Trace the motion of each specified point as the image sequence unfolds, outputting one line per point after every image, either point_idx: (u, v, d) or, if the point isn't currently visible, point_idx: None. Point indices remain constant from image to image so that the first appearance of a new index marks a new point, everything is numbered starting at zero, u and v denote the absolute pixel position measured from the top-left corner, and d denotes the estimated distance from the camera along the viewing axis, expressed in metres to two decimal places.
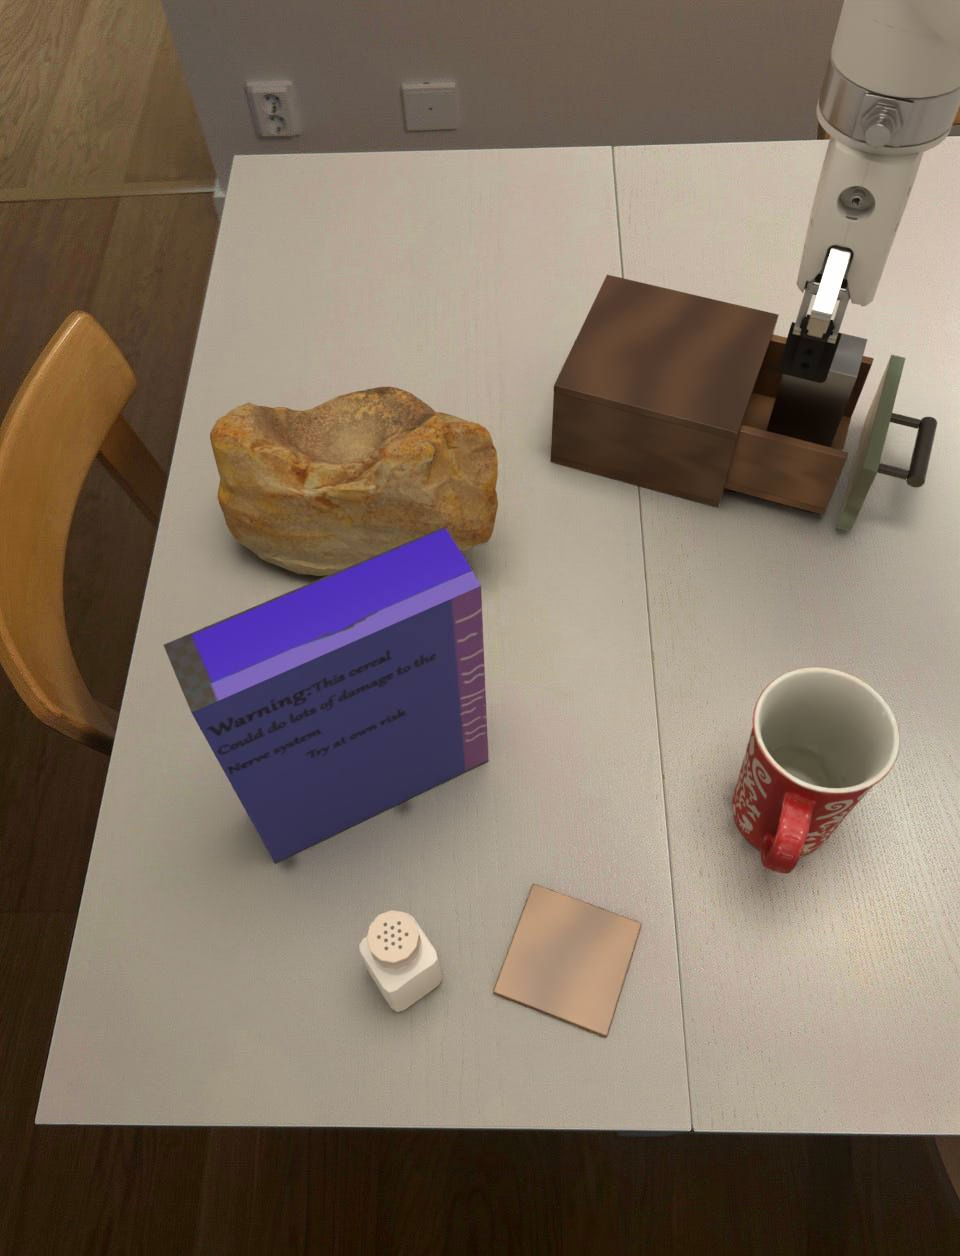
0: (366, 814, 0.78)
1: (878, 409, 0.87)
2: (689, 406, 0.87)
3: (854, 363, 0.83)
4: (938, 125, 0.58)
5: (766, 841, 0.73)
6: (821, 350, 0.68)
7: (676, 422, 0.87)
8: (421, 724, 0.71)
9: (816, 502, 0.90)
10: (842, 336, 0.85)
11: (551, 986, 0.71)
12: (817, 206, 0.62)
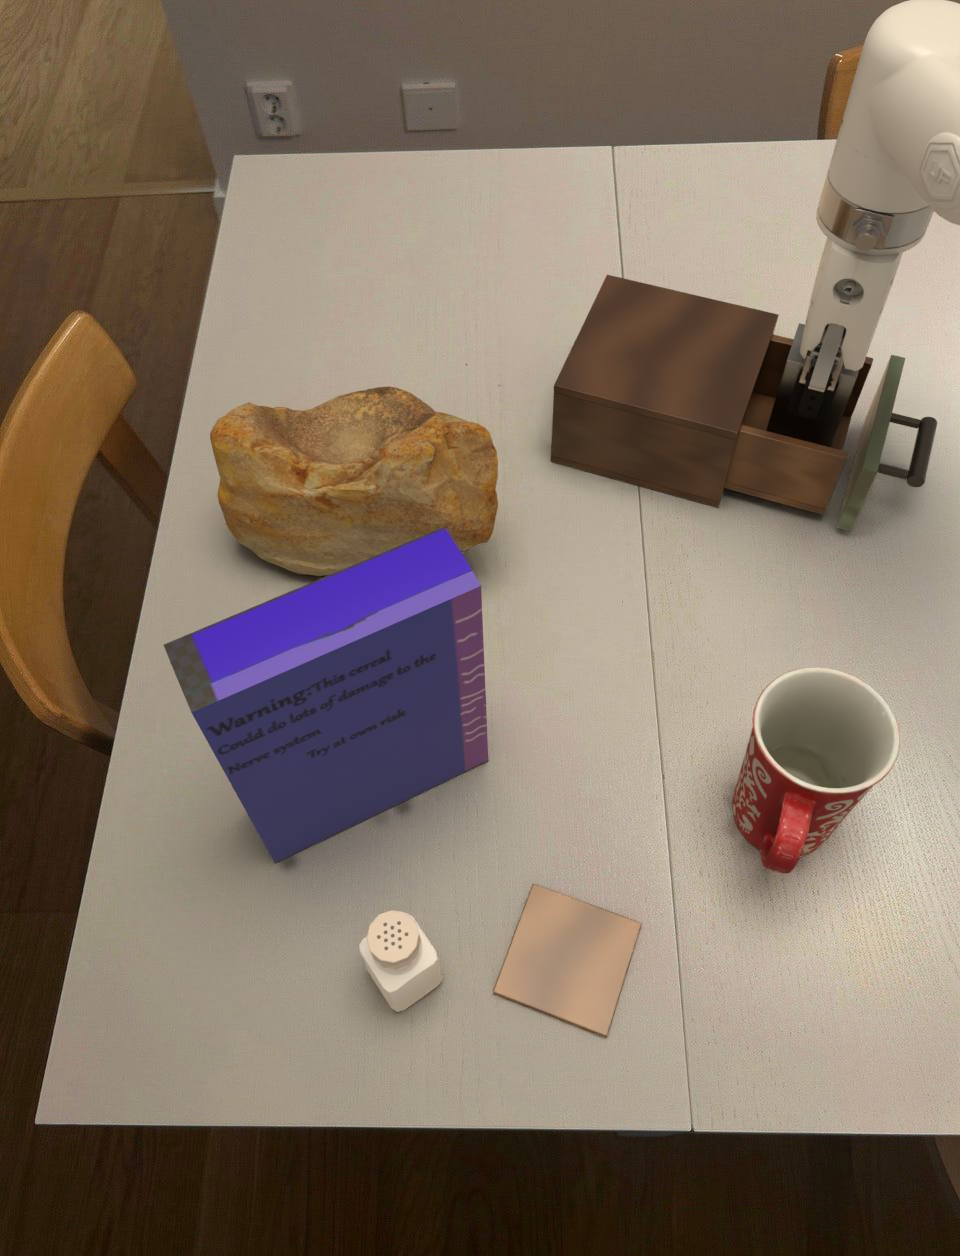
0: (366, 814, 0.78)
1: (878, 409, 0.87)
2: (689, 406, 0.87)
3: None
4: (914, 232, 0.71)
5: (766, 841, 0.73)
6: (822, 396, 0.84)
7: (676, 422, 0.87)
8: (421, 724, 0.71)
9: (816, 502, 0.90)
10: None
11: (551, 986, 0.71)
12: (816, 292, 0.75)
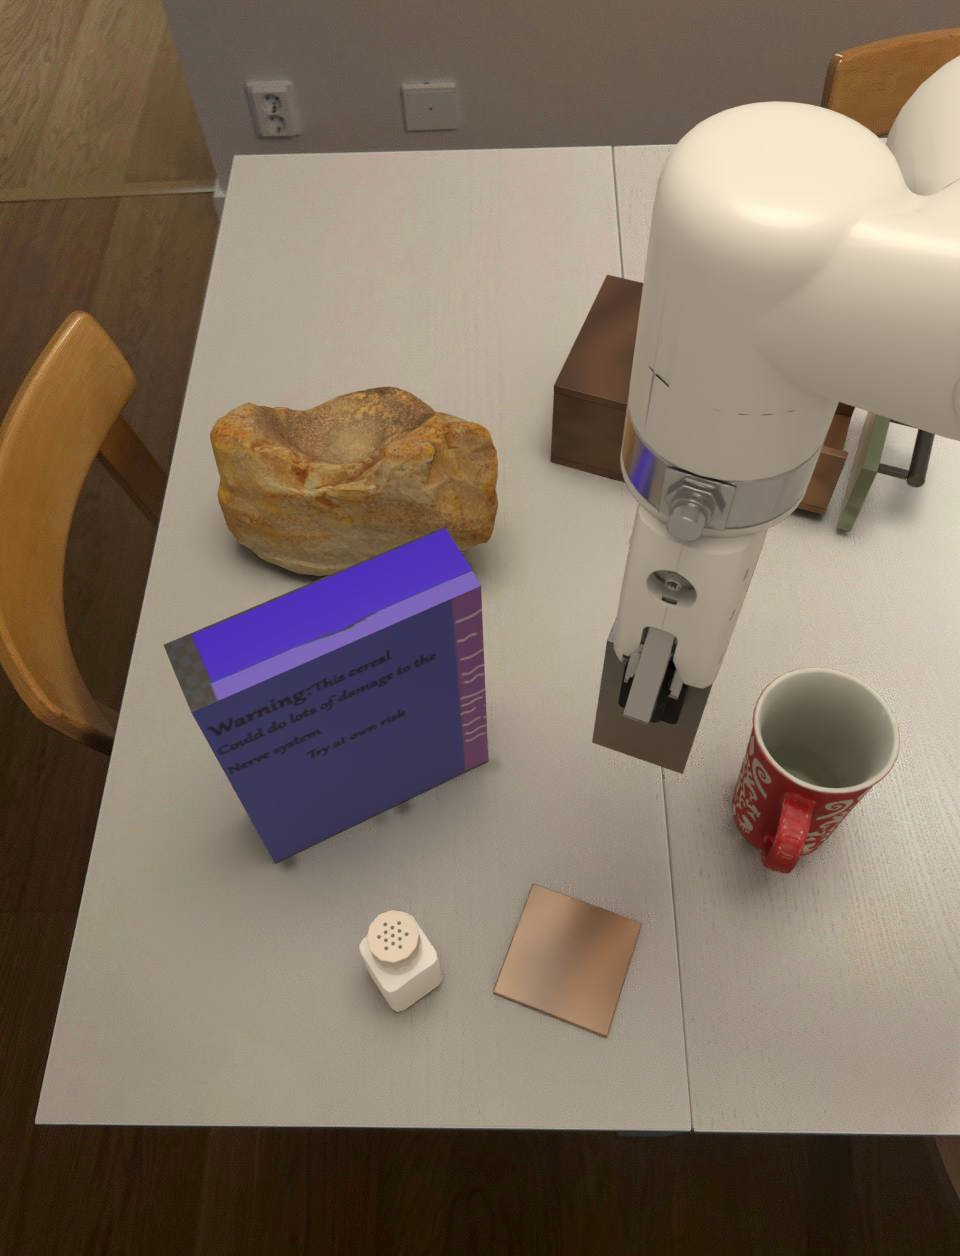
0: (366, 814, 0.78)
1: None
2: None
3: None
4: (779, 503, 0.40)
5: (766, 841, 0.73)
6: None
7: None
8: (421, 724, 0.71)
9: (816, 502, 0.90)
10: None
11: (551, 986, 0.71)
12: (624, 578, 0.44)
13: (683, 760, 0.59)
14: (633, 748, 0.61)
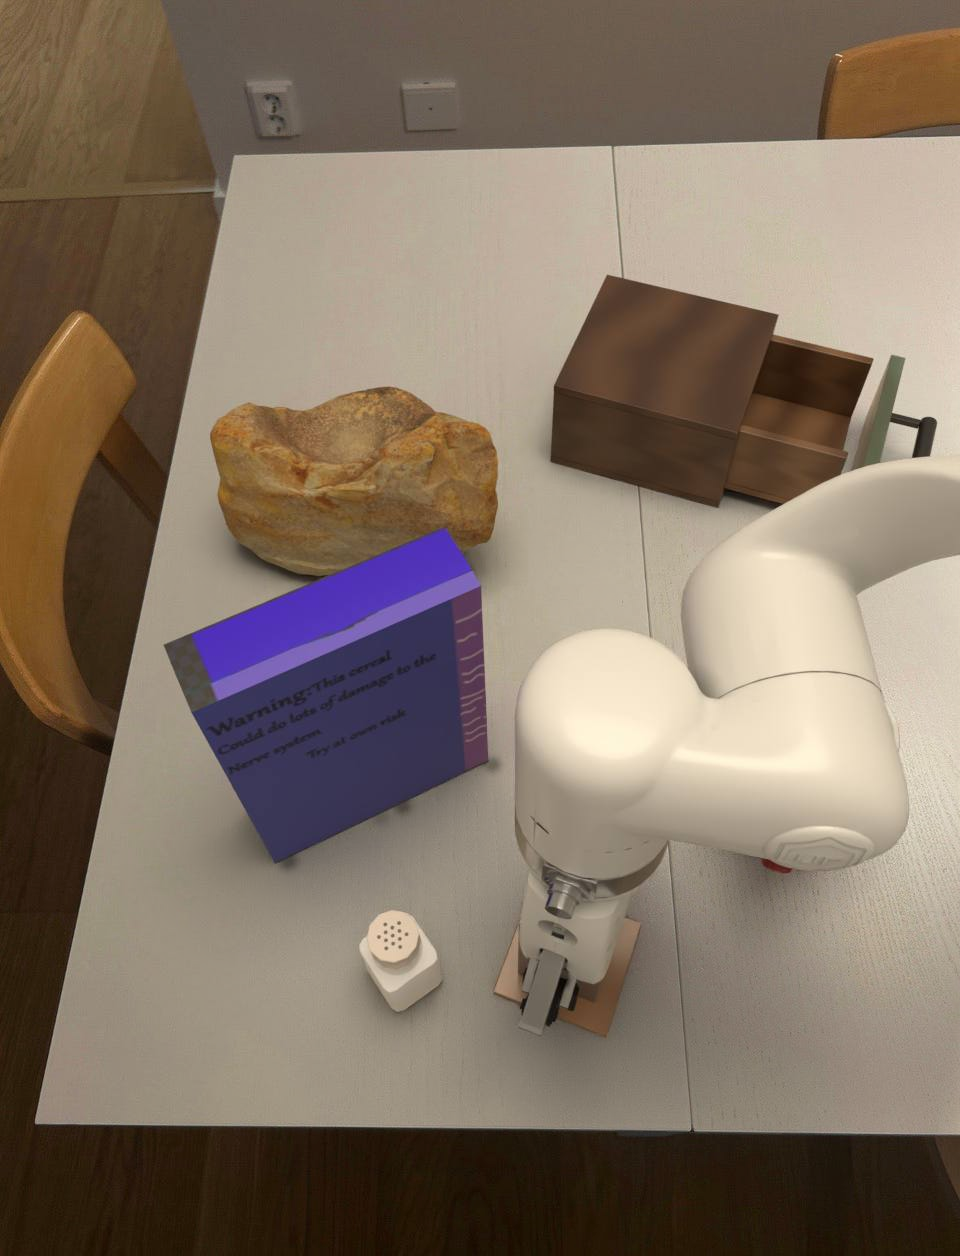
0: (366, 814, 0.78)
1: (878, 409, 0.87)
2: (689, 406, 0.87)
3: None
4: (637, 880, 0.49)
5: None
6: (557, 1005, 0.60)
7: (676, 422, 0.87)
8: (421, 724, 0.71)
9: None
10: None
11: None
12: (521, 914, 0.54)
13: (593, 995, 0.69)
14: None
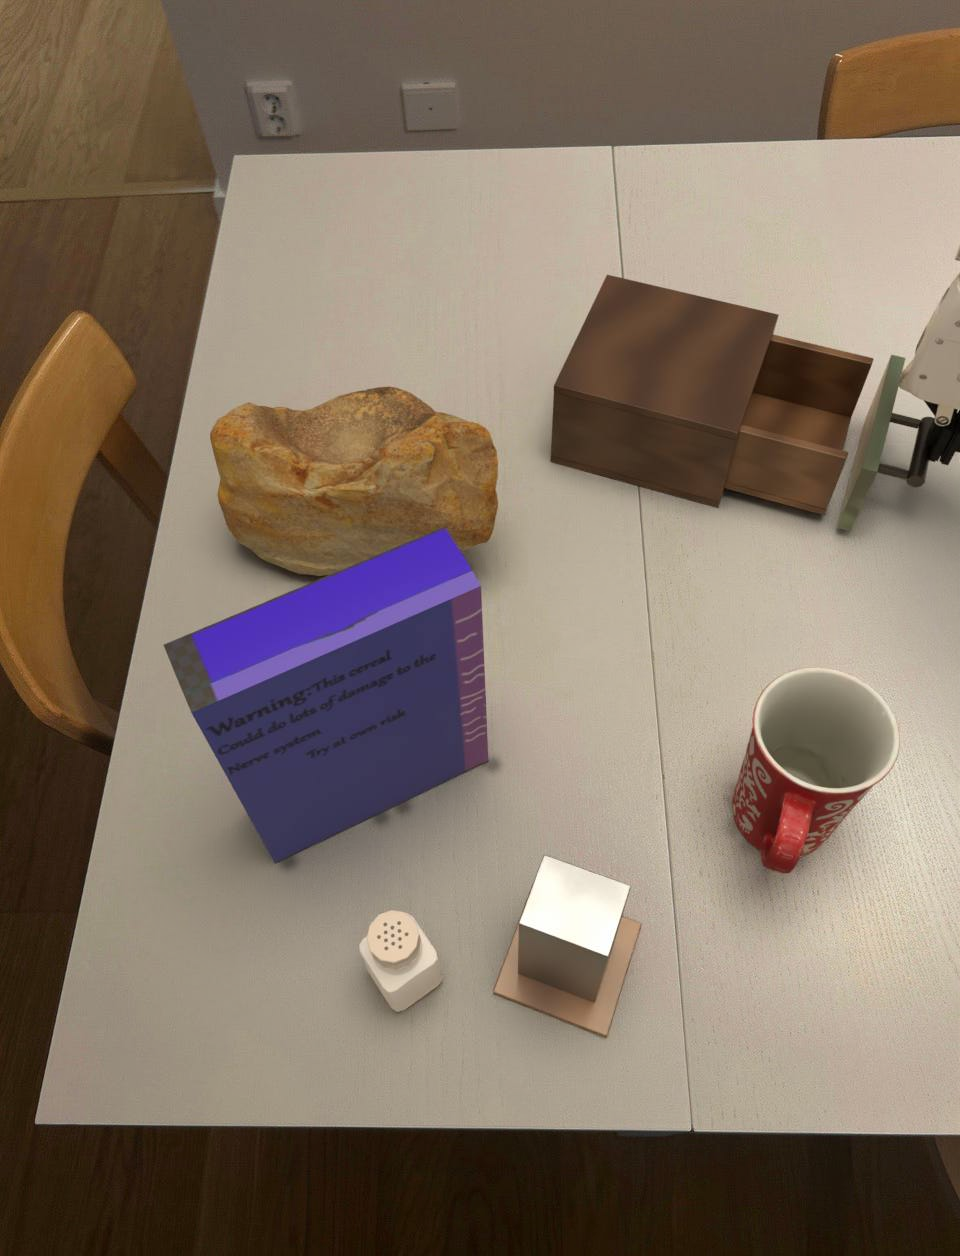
0: (366, 814, 0.78)
1: (878, 409, 0.87)
2: (689, 406, 0.87)
3: (608, 931, 0.62)
4: None
5: (766, 841, 0.73)
6: (934, 425, 0.86)
7: (676, 422, 0.87)
8: (421, 724, 0.71)
9: (816, 502, 0.90)
10: (598, 880, 0.63)
11: (551, 986, 0.71)
12: None
13: (593, 995, 0.69)
14: (552, 982, 0.70)
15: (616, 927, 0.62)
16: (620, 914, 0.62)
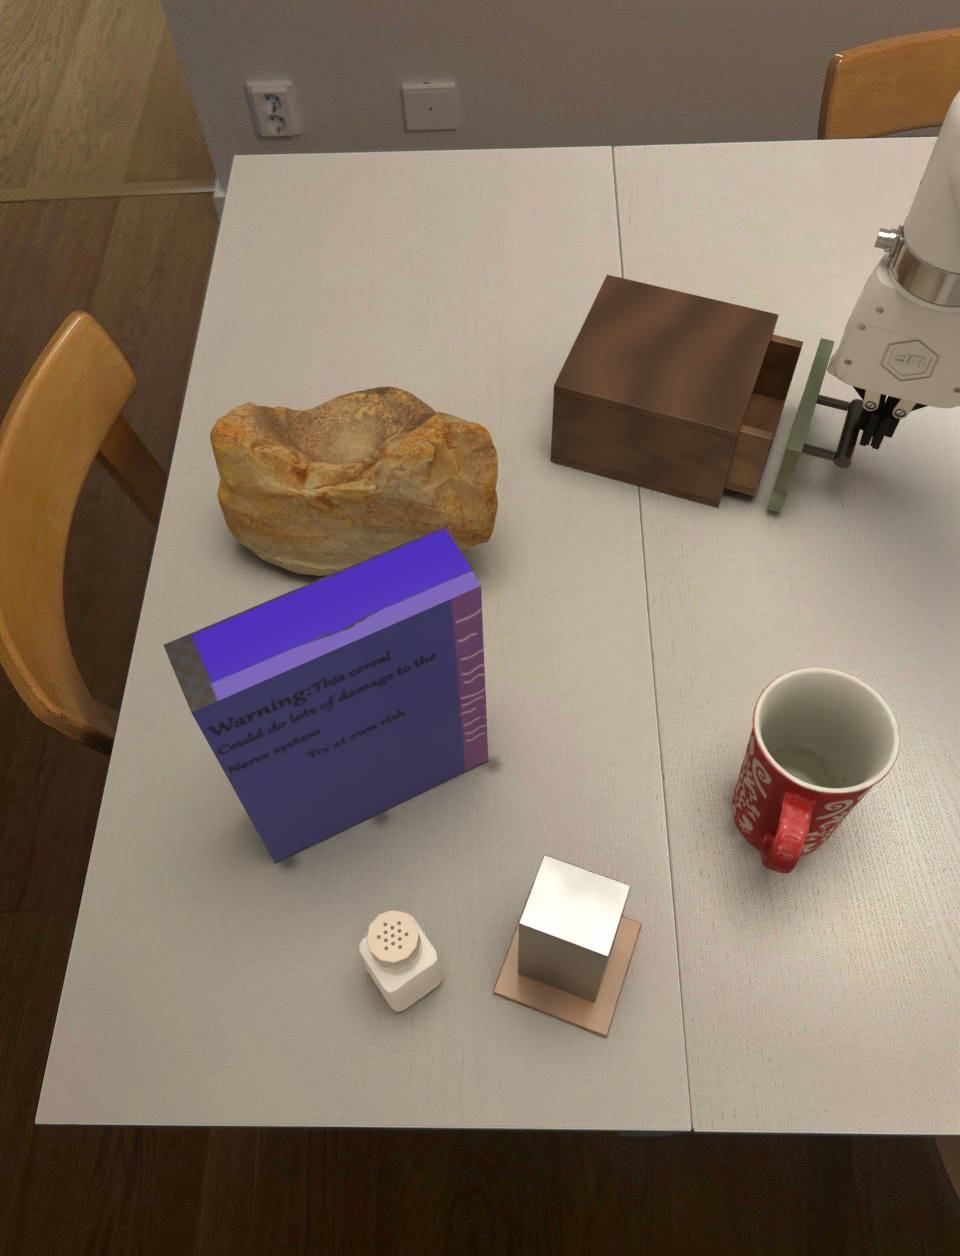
0: (366, 814, 0.78)
1: (805, 391, 0.88)
2: (689, 406, 0.87)
3: (608, 931, 0.62)
4: (908, 279, 0.74)
5: (766, 841, 0.73)
6: (863, 409, 0.87)
7: (676, 422, 0.87)
8: (421, 724, 0.71)
9: (746, 483, 0.91)
10: (598, 880, 0.63)
11: (551, 986, 0.71)
12: None
13: (593, 995, 0.69)
14: (552, 982, 0.70)
15: (616, 927, 0.62)
16: (620, 914, 0.62)
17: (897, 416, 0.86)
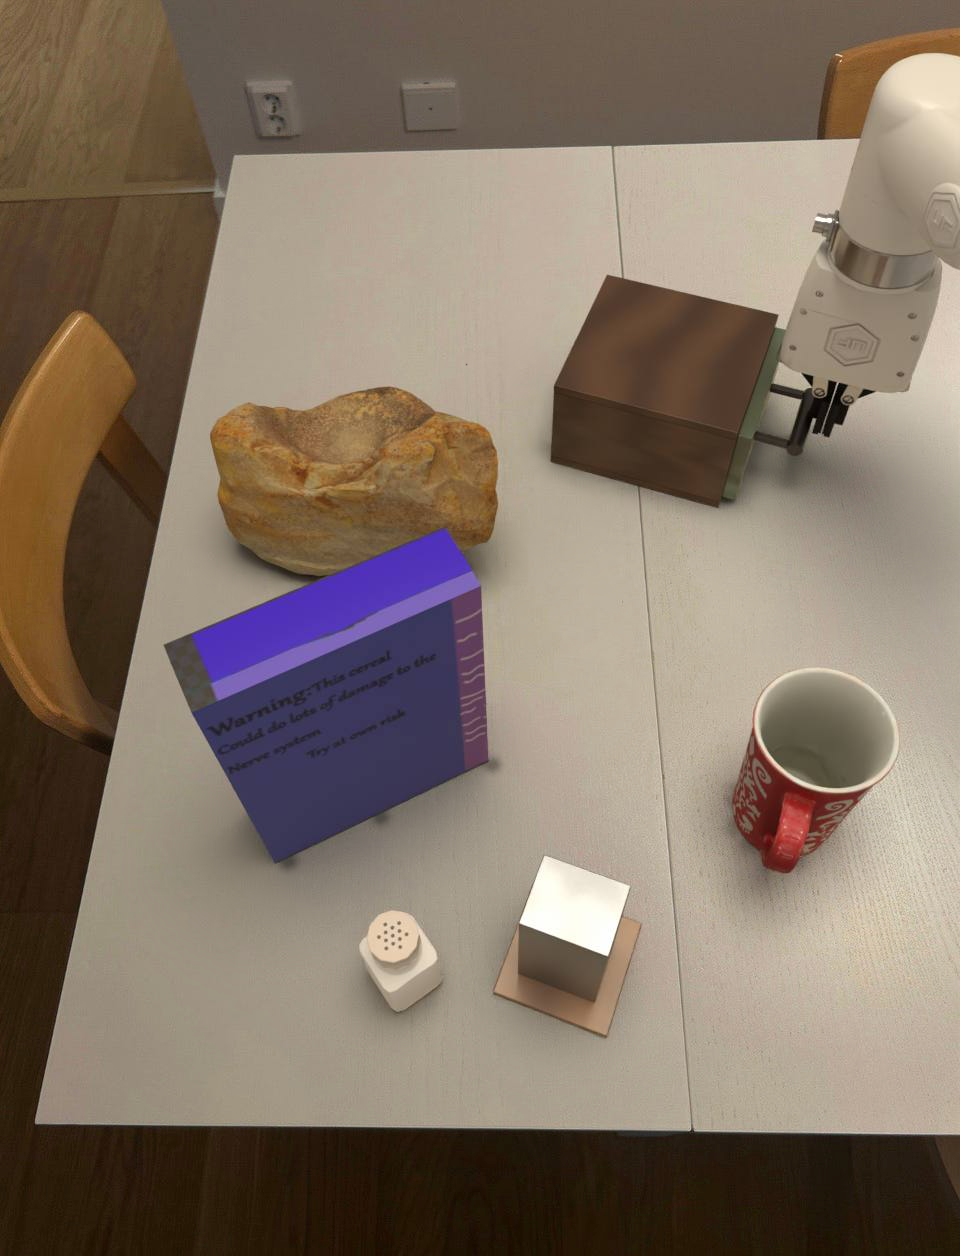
0: (366, 814, 0.78)
1: (758, 379, 0.89)
2: (689, 406, 0.87)
3: (608, 931, 0.62)
4: (844, 262, 0.75)
5: (766, 841, 0.73)
6: (814, 397, 0.88)
7: (676, 422, 0.87)
8: (421, 724, 0.71)
9: None
10: (598, 880, 0.63)
11: (551, 986, 0.71)
12: None
13: (593, 995, 0.69)
14: (552, 982, 0.70)
15: (616, 927, 0.62)
16: (620, 914, 0.62)
17: (845, 403, 0.87)
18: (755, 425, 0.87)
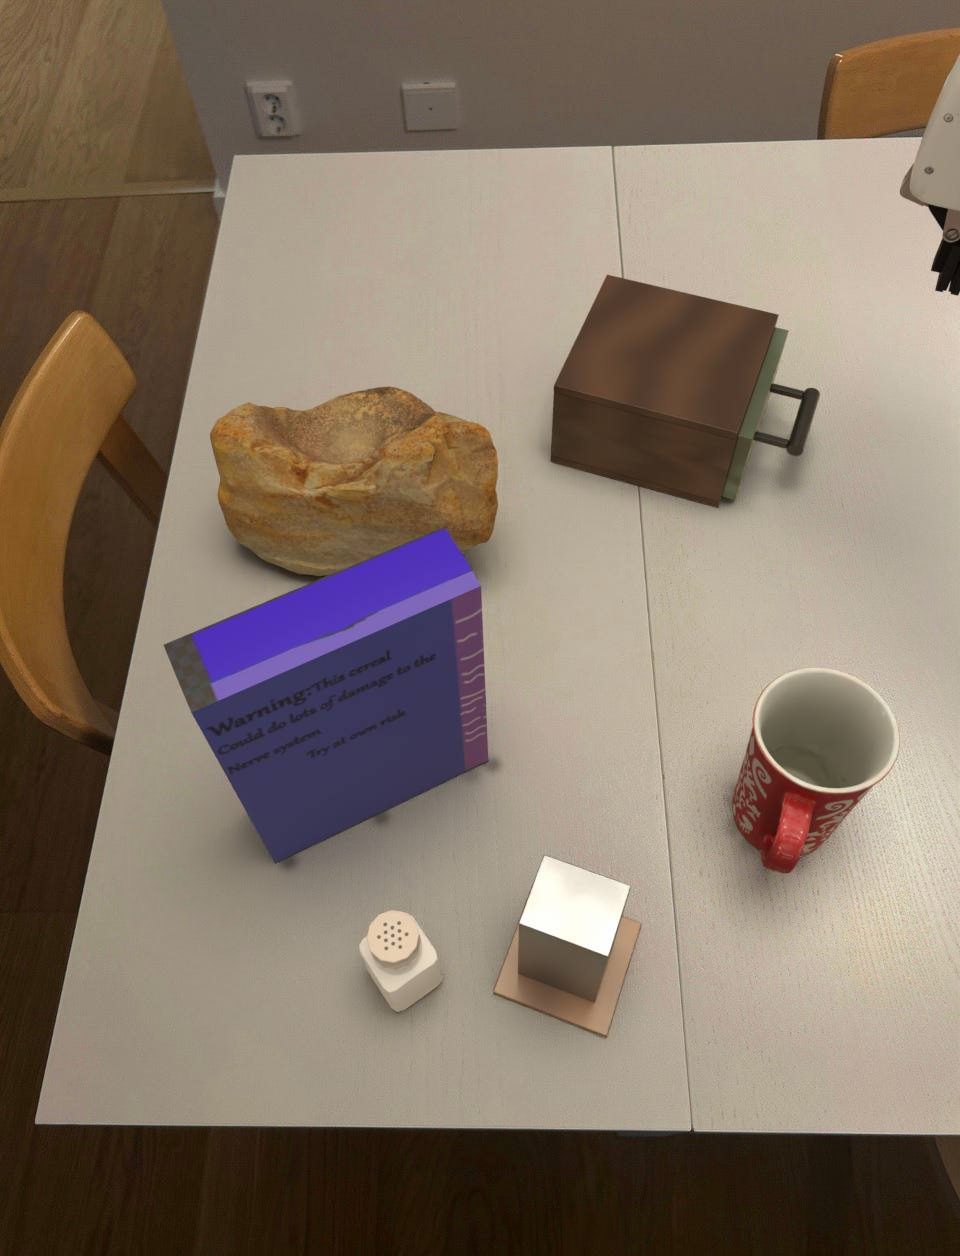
0: (366, 814, 0.78)
1: (758, 379, 0.89)
2: (689, 406, 0.87)
3: (608, 931, 0.62)
4: None
5: (766, 841, 0.73)
6: (942, 243, 0.73)
7: (676, 422, 0.87)
8: (421, 724, 0.71)
9: None
10: (598, 880, 0.63)
11: (551, 986, 0.71)
12: None
13: (593, 995, 0.69)
14: (552, 982, 0.70)
15: (616, 927, 0.62)
16: (620, 914, 0.62)
17: None
18: (755, 425, 0.87)
